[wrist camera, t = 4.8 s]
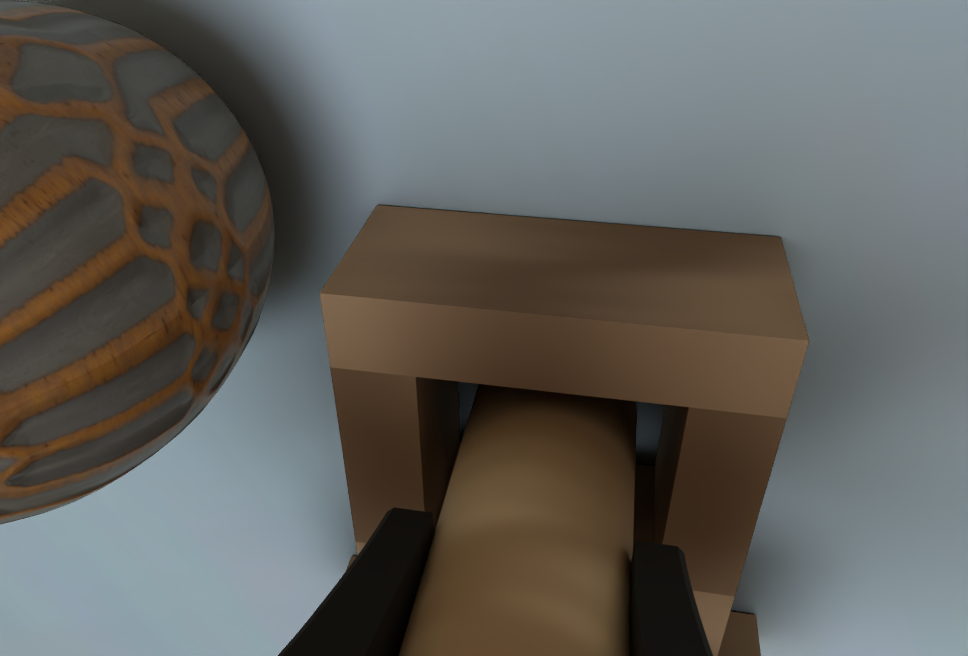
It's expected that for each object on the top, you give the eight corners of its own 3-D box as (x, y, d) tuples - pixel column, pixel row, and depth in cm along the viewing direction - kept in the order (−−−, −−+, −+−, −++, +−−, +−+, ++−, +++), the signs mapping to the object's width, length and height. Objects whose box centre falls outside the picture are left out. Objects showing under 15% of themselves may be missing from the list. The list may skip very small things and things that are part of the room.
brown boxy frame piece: (875, 244, 13) (1039, 589, 7) (748, 639, 19) (785, 984, 14) (298, 199, 14) (77, 458, 9) (355, 579, 21) (247, 870, 15)
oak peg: (647, 356, 13) (639, 884, 7) (625, 479, 15) (603, 994, 9) (476, 335, 14) (321, 816, 7) (473, 457, 16) (346, 934, 9)
